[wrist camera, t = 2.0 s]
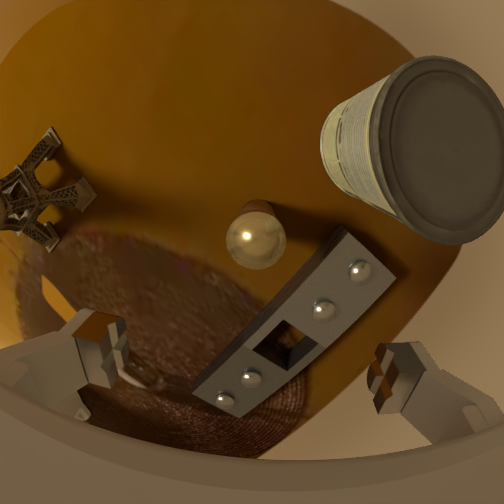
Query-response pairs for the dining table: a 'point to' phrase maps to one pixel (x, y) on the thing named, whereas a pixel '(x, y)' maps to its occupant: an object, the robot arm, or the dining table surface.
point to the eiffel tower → (38, 195)
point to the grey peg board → (296, 324)
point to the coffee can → (423, 149)
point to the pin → (256, 236)
